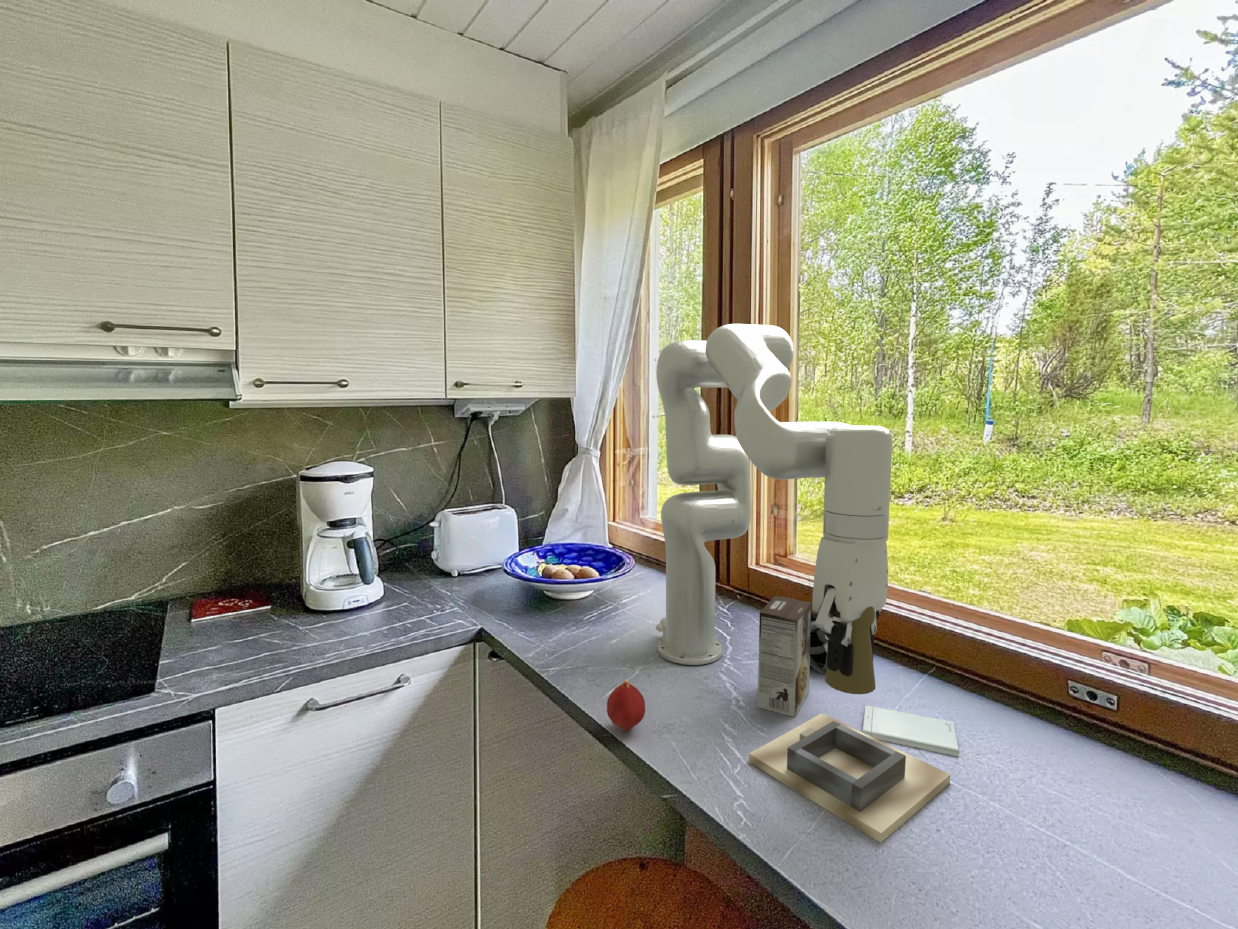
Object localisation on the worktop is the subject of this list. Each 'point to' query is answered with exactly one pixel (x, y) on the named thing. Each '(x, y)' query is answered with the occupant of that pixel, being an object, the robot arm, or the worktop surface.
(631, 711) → the onion
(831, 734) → the board
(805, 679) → the coffee box
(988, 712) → the worktop surface
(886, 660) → the worktop surface
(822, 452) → the robot arm
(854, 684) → the cork
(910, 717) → the hard drive
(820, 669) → the cpu cooler
